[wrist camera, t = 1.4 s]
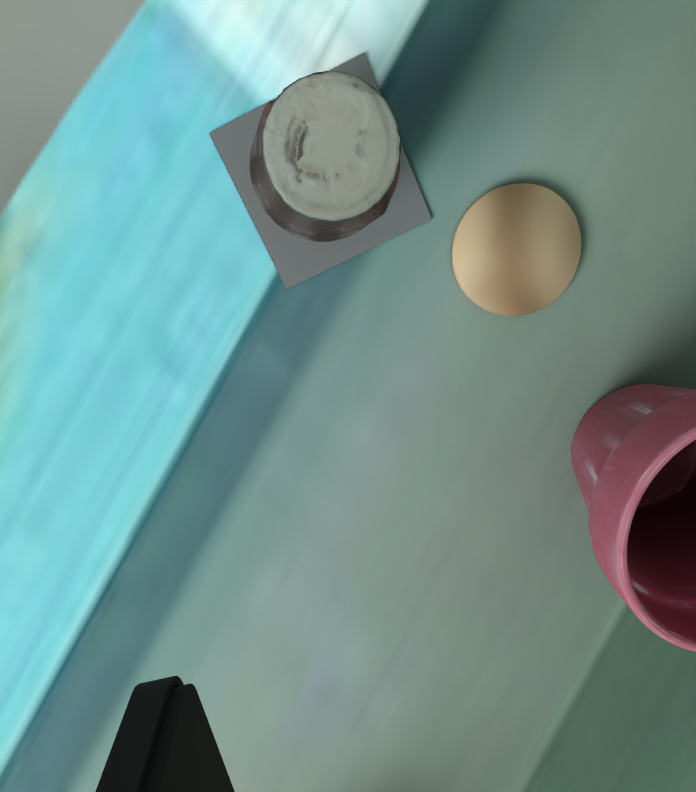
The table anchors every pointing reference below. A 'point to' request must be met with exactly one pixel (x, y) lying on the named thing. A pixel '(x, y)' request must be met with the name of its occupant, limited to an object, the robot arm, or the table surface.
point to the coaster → (516, 249)
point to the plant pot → (644, 501)
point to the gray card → (302, 255)
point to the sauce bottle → (326, 156)
